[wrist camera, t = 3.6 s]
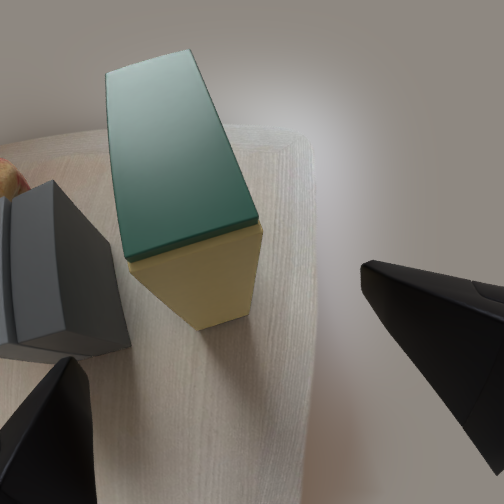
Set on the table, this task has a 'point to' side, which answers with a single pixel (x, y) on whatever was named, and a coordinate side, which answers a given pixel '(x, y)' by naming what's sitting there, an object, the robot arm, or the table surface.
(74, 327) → the grey grooved block
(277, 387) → the table surface
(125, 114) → the green book
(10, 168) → the fruit
